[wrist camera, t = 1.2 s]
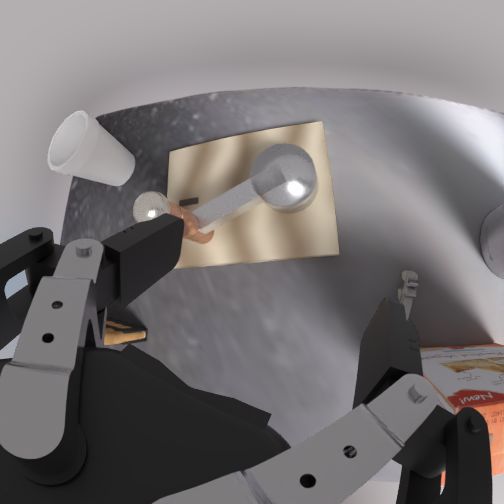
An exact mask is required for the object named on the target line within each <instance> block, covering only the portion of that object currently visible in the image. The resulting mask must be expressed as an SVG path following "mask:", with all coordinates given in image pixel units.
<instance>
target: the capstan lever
mask: <svg viewBox="0 0 504 504" xmlns="http://www.w3.org/2000/svg"><path fill="white" fill-rule="evenodd" d="M318 187H319V182H318V177H317V173H316V170H315V166H314V163H313V160H312V158H311V157H310V155H309V154H308V153H307V152H306V151H305V150H304V149H302V148H301V147H299V146H296V145H293V144H286V143H283V144H276V145H273V146H271V147H268V148H267V149H265V150H264V151H262V152H261V153H260V154H259V155H258V156H257V158H256V159H255V161H254V163H253V165H252V168H251V172H250V179H248V180H246V181H244V182H243V183H241V184H239V185H237V186H235V187H234V188H232V189H230V190H228V191H227V192H225V193H223V194H221V195H220V196H218V197H216V198H215V199H213V200H211V201H210V202H208V203H206V204H204V205H203V206H201V207H199V208H198V209H196V210H194V211H193V212H189V211H187V210H185V209H184V208H182V207H180V206H178V205H176V204H174V203H172V202H170V201H168V200H167V198H166V197H165V196H164V195H163V194H161V193H159V192H157V191H148V192H145V193H143V194H141V195H140V196H139V197H138V198H137V199H136V201H135V203H134V206H133V215H134V218H135V220H136V222H137V223H139V222H143V221H148V220H152V219H154V218H156V217H158V216H160V215H162V214H164V213H168V214H171V215H174V216H176V217H179V218H182V219H183V220H184V232H183V238H184V239H187V240H190V241H193V242H196V243H199V244H206V243H208V242H209V241H210V240H211V239H212V238H213V235H214V229H216V228H218V227H219V226H221V225H223V224H225V223H226V222H228V221H230V220H232V219H234V218H235V217H237V216H239V215H241V214H243V213H245V212H246V211H248V210H250V209H252V208H254V207H256V206H257V205H259V204H261V203H263V202H265V203H266V204H267V205H268V206H269V207H270V208H271V209H273V210H275V211H277V212H279V213H285V214H291V213H296V212H299V211H302V210H304V209H305V208H307V207H308V206H309V205H310V204H311V203H312V202H313V200H314V199H315V197H316V195H317V192H318Z"/></svg>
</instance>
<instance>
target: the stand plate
mask: <svg viewBox="0 0 504 504" xmlns="http://www.w3.org/2000/svg"><path fill="white" fill-rule="evenodd" d="M283 143H286V144H293V145H296V146H299V147H301V148H302V149H304V150H305V151H306V152H307V153H308V154H309V155H310V157H311V158H312V160H313V163H314V166H315V170H316V173H317V177H318V182H319V187H318V192H317V195H316V197H315V199H314V200H313V202H312V203H311V204H310V205H309V206H308V207H307V208H305V209H304V210H302V211H299V212H296V213H291V214H285V213H279V212H277V211H275V210H273V209H271V208H270V207H269V206H268V205H267V204H266V203H265V202H263V203H261V204H259V205H257V206H256V207H254V208H252V209H250V210H248V211H246V212H245V213H243V214H241V215H239V216H237V217H235V218H234V219H232V220H230V221H228V222H226V223H225V224H223V225H221V226H219V227H218V228H216V229H214V235H213V238H212V239H211V240H210V241H209V242H208V243H206V244H199V243H196V242H193V241H190V240H187V239H184V238H183V240H182V247H181V255H180V258H179V261H178V263H177V265H176V266H175V267H174V268H173V269H175V268H188V267H202V266H215V265H228V264H241V263H253V262H266V261H278V260H290V259H302V258H314V257H325V256H337V255H339V245H338V234H337V224H336V215H335V206H334V197H333V189H332V182H331V175H330V168H329V161H328V154H327V148H326V142H325V136H324V130H323V124H322V122H314V123H306V124H299V125H293V126H286V127H280V128H274V129H269V130H263V131H258V132H252V133H247V134H242V135H237V136H233V137H228V138H223V139H219V140H215V141H210V142H206V143H202V144H198V145H194V146H190V147H186V148H182V149H178V150H175V151H171V152H170V156H169V172H168V192H167V200H168V201H170V202H172V203H174V204H176V205H178V206H180V207H182V208H184V209H185V210H187V211H189V212H193V211H194V210H196V209H198V208H199V207H201V206H203V205H204V204H206V203H208V202H210V201H211V200H213V199H215V198H216V197H218V196H220V195H221V194H223V193H225V192H227V191H228V190H230V189H232V188H234V187H235V186H237V185H239V184H241V183H243V182H244V181H246V180H248V179H250V172H251V168H252V165H253V163H254V161H255V159H256V158H257V156H258V155H259V154H260V153H261V152H262V151H264V150H265V149H267V148H268V147H271V146H273V145H276V144H283Z"/></svg>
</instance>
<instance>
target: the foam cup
mask: <svg viewBox="0 0 504 504" xmlns="http://www.w3.org/2000/svg"><path fill="white" fill-rule="evenodd" d="M48 165H49V166H50V169H51V170H53V171H56V172H58V173H60V174H64V175H72V176H77V177H81V178H85V179H89V180H93V181H96V182H100V183H104V184H108V185H112V186H120V185H123V184H124V183H125V182H126V181H127V180H128V179H129V178H130V177H131V175H132V173H133V171H134V167H135V158H134V156H133V155H132V154H131V153H130V152H129V151H128V150H127V149H126V148H125V147H124V146H123V145H122V144H121V143H119V142H118V141H117V140H116V139H115V138H114V137H113V136H112V135H111V134H110V133H108V132H107V131H106V130H105V129H104V128H103V127H102V126H101V125H100V124H99V122H98V121H97V120H96V119H95V118H94V117H93V116H91V115H90V114H88V113H87V112H85V111H83V110H82V111H76V112H74V113H73V114H71V115H70V116H68V117H67V118H66V119H65V120H64V121H63V123H62V124H61V125H60V126H59V127H58V129H57V131H56V133H55V135H54V136H53V138H52V140H51V144H50V147H49V150H48Z"/></svg>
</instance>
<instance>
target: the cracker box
mask: <svg viewBox="0 0 504 504" xmlns="http://www.w3.org/2000/svg"><path fill="white" fill-rule="evenodd" d="M420 352H421V360H422V368H423V377H424V378H425V379H427V380H428V381H429V382H430V383H431V384H432V385H433V387H434V388H435V390H436V392H437V396H438V403H437V404H438V405H439V406H441V407H442V408H444V409H446V410H447V411H449V412H451V413H452V414H454V415H455V414H457V413H458V412H459V411H460V410H461V409H462V408H464V407H472V408H474V409H476V410H477V411H479V412H480V413H481V414H482V416H483V417H484V418H485V420H486V422H487V425H488V431H489V439H490V450H491V463H492V476H496V475H499V474H503V473H504V345H500V344H497V343H494V344H483V345H469V346H449V347H420ZM444 485H445V471H444V472H443V473H442V478H441V487H442V486H444Z"/></svg>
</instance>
